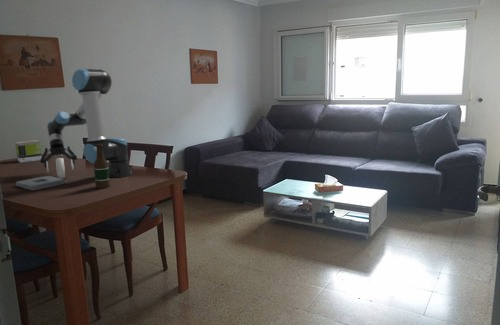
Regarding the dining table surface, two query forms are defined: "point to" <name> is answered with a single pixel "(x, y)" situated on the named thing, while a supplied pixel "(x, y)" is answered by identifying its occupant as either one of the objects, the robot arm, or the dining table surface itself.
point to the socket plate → (40, 182)
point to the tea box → (28, 151)
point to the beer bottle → (101, 169)
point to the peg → (60, 168)
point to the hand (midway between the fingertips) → (60, 170)
